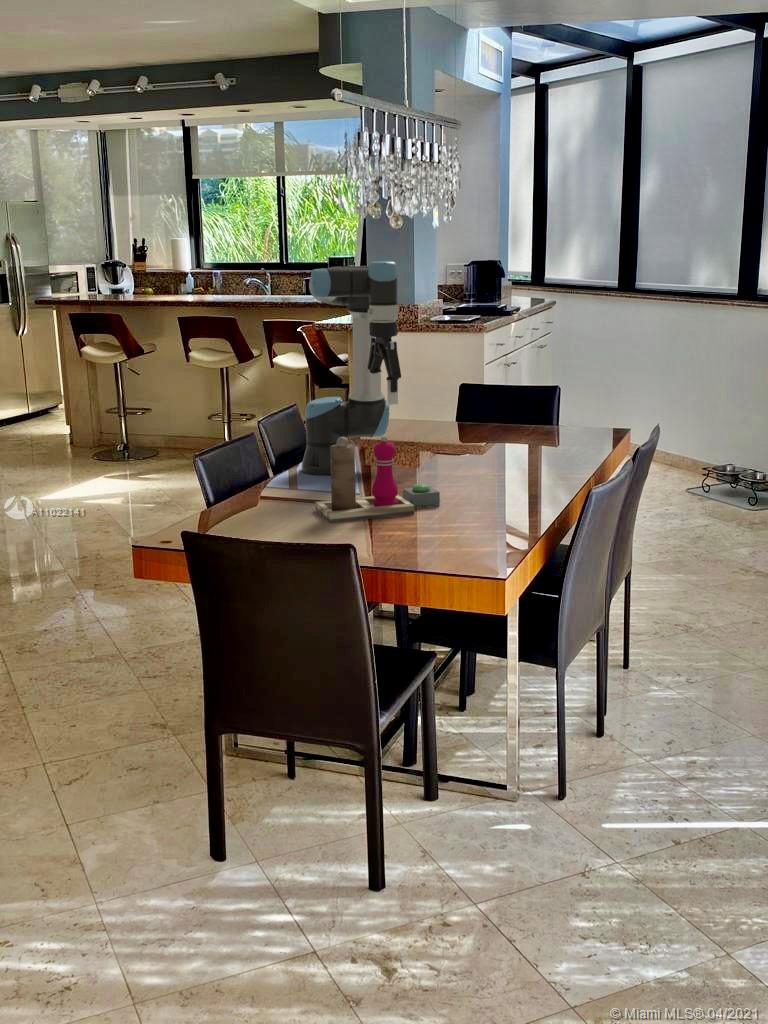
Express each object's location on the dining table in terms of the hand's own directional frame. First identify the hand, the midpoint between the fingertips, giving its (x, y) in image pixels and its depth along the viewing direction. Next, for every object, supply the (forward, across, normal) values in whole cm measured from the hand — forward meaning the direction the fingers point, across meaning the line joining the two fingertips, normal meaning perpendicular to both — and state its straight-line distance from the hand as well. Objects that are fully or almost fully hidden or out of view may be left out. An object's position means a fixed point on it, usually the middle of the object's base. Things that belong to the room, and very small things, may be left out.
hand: (384, 400), depth 288 cm
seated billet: (+31, 0, -12) cm, 33 cm away
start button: (+29, -3, +12) cm, 32 cm away
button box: (+31, -3, +12) cm, 33 cm away
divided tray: (+31, 0, -6) cm, 31 cm away
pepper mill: (+30, 0, 0) cm, 30 cm away
